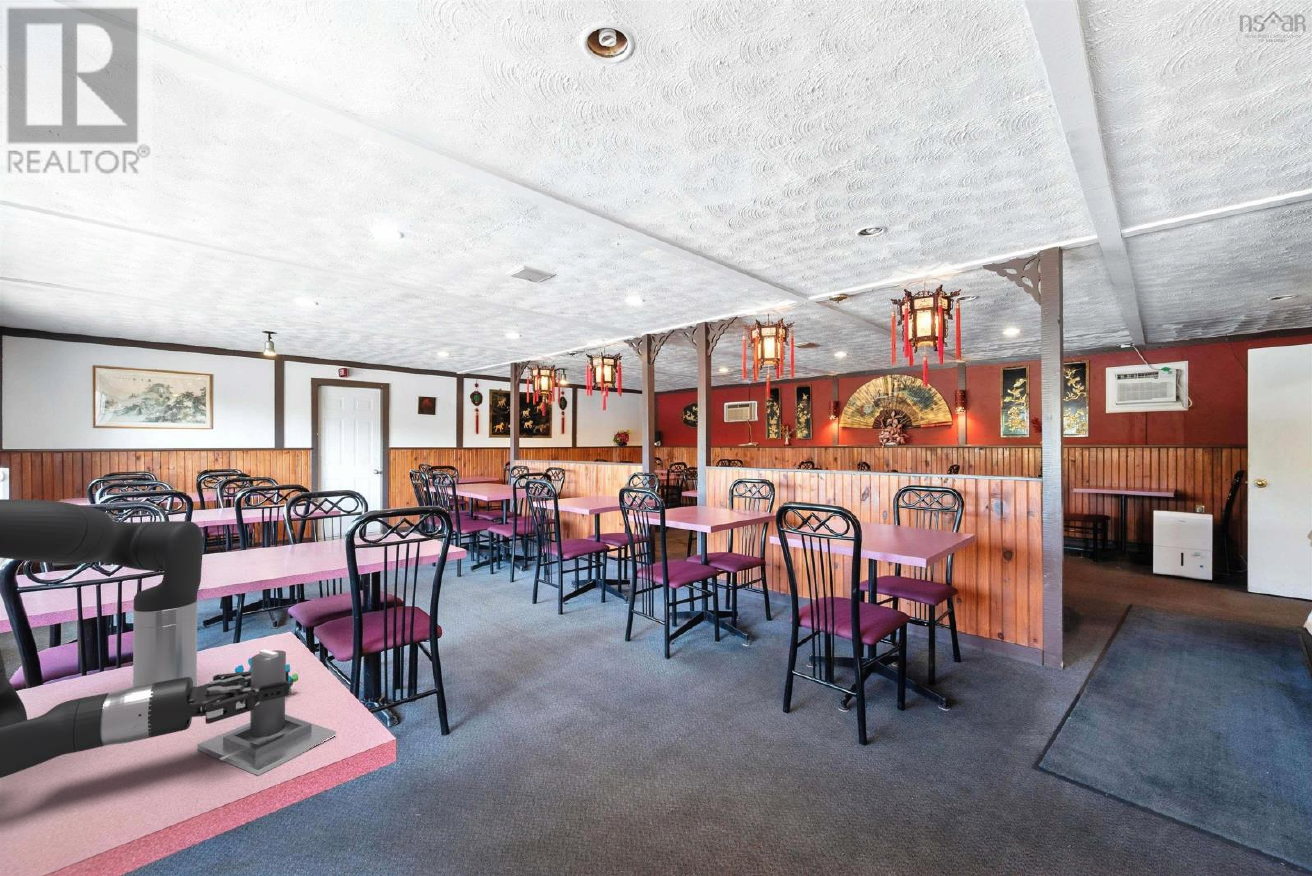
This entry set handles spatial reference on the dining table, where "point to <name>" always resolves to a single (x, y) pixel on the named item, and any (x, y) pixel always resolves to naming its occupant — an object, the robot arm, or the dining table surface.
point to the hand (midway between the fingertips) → (288, 682)
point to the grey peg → (271, 712)
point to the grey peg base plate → (265, 745)
